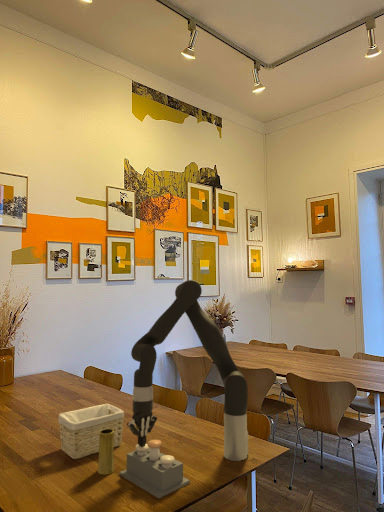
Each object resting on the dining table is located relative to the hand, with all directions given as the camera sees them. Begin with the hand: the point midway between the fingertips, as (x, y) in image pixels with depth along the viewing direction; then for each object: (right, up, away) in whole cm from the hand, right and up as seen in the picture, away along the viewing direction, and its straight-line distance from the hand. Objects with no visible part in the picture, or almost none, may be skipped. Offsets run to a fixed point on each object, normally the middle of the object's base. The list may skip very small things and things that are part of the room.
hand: (141, 445), depth 140 cm
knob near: (+10, -7, -11) cm, 16 cm away
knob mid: (+5, -4, -6) cm, 9 cm away
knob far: (0, -8, -1) cm, 8 cm away
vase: (-13, -9, 0) cm, 16 cm away
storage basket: (-24, -11, +21) cm, 34 cm away
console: (+5, -9, -6) cm, 12 cm away
